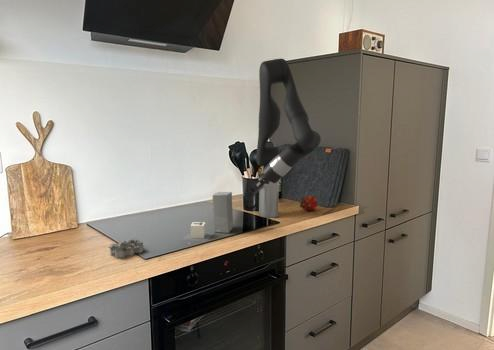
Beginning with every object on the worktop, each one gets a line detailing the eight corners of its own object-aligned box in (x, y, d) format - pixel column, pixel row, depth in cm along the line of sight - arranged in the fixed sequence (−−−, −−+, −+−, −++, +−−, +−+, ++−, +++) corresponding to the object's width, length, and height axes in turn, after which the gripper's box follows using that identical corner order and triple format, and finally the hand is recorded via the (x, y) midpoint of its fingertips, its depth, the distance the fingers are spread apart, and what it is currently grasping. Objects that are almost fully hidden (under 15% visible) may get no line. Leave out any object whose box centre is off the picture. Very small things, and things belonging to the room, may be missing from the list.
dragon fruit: (299, 215, 182) (313, 214, 190) (311, 207, 177) (326, 207, 185) (293, 200, 185) (307, 200, 194) (305, 192, 180) (319, 192, 188)
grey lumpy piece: (116, 260, 119) (116, 248, 119) (107, 254, 125) (106, 242, 124) (146, 252, 126) (146, 241, 126) (136, 246, 132) (136, 236, 131)
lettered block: (193, 234, 146) (192, 221, 145) (205, 234, 146) (205, 221, 145) (190, 238, 141) (190, 225, 140) (203, 238, 141) (203, 225, 140)
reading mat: (190, 232, 149) (190, 231, 149) (214, 233, 147) (214, 233, 147) (181, 240, 139) (181, 239, 139) (206, 241, 138) (206, 241, 137)
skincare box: (228, 233, 147) (228, 195, 144) (211, 232, 148) (211, 194, 146) (233, 227, 155) (233, 191, 153) (217, 226, 156) (217, 190, 154)
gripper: (276, 159, 147) (248, 186, 153) (265, 163, 133) (235, 192, 139) (288, 173, 145) (260, 200, 151) (278, 178, 132) (247, 207, 138)
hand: (248, 196), depth 145 cm, fingers open, 5 cm apart
